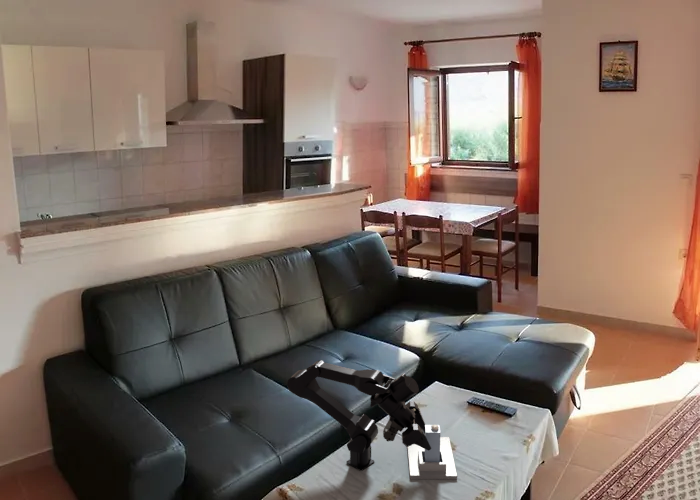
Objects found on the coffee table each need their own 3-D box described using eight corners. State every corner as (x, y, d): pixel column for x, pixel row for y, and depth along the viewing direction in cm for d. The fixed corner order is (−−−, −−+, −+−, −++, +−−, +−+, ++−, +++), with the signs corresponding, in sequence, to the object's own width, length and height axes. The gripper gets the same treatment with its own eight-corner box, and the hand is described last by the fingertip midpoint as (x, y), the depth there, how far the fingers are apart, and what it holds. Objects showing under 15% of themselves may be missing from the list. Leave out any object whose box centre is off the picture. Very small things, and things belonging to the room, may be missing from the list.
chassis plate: (457, 479, 195) (457, 468, 194) (410, 478, 196) (410, 468, 195) (448, 440, 216) (449, 430, 215) (406, 440, 217) (406, 430, 216)
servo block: (425, 467, 199) (425, 429, 196) (424, 459, 203) (425, 422, 200) (439, 467, 199) (440, 430, 196) (438, 459, 203) (439, 422, 200)
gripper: (374, 408, 206) (407, 441, 209) (374, 439, 188) (411, 474, 191) (400, 386, 204) (433, 419, 207) (403, 415, 186) (439, 451, 189)
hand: (428, 441), depth 198 cm, fingers open, 9 cm apart
